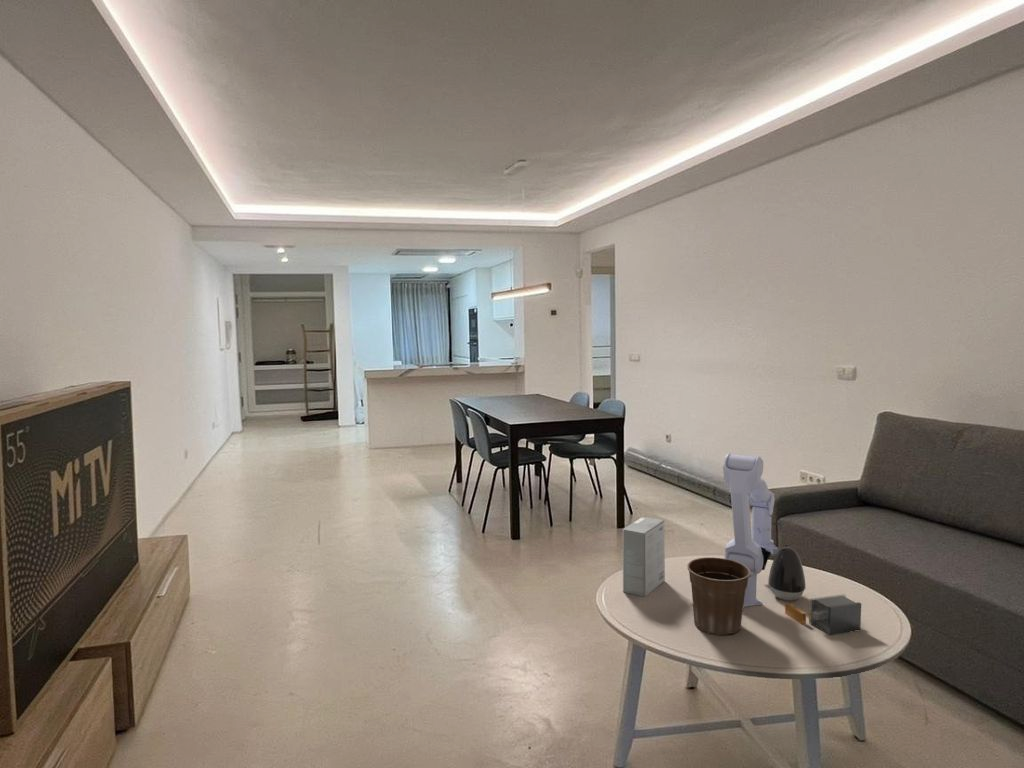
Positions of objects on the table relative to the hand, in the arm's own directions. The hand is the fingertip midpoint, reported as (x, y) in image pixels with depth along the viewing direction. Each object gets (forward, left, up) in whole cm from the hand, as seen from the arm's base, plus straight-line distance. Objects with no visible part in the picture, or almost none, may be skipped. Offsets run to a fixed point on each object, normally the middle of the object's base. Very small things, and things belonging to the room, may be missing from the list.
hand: (760, 569), depth 205 cm
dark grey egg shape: (0, -13, -4) cm, 13 cm away
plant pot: (-30, -24, -4) cm, 38 cm away
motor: (0, -30, -4) cm, 30 cm away
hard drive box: (-37, +6, -4) cm, 38 cm away
